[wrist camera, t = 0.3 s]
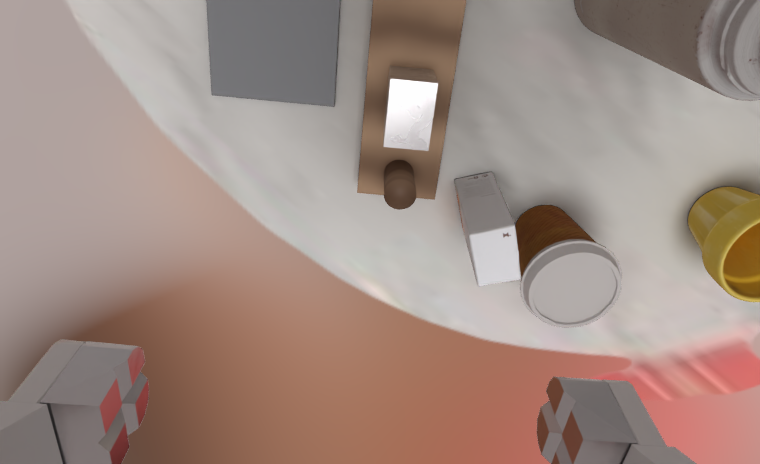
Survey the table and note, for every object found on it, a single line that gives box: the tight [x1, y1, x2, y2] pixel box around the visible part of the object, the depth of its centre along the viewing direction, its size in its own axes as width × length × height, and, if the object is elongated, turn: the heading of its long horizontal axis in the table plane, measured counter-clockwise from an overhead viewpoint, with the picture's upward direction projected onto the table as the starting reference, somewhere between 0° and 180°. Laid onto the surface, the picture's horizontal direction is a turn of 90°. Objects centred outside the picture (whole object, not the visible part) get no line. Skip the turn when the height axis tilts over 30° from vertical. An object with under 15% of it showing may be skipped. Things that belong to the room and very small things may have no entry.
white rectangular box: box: [383, 66, 438, 151], centre depth 49 cm, size 6×4×5 cm, turn 175°
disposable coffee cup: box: [515, 205, 622, 328], centre depth 56 cm, size 10×10×12 cm
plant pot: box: [688, 187, 760, 302], centre depth 56 cm, size 10×10×10 cm
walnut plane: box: [357, 0, 466, 209], centre depth 50 cm, size 20×8×8 cm, turn 175°
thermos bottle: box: [574, 0, 760, 101], centre depth 37 cm, size 8×8×28 cm
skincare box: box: [454, 172, 521, 287], centre depth 54 cm, size 6×4×12 cm
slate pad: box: [206, 0, 340, 107], centre depth 51 cm, size 12×12×1 cm
